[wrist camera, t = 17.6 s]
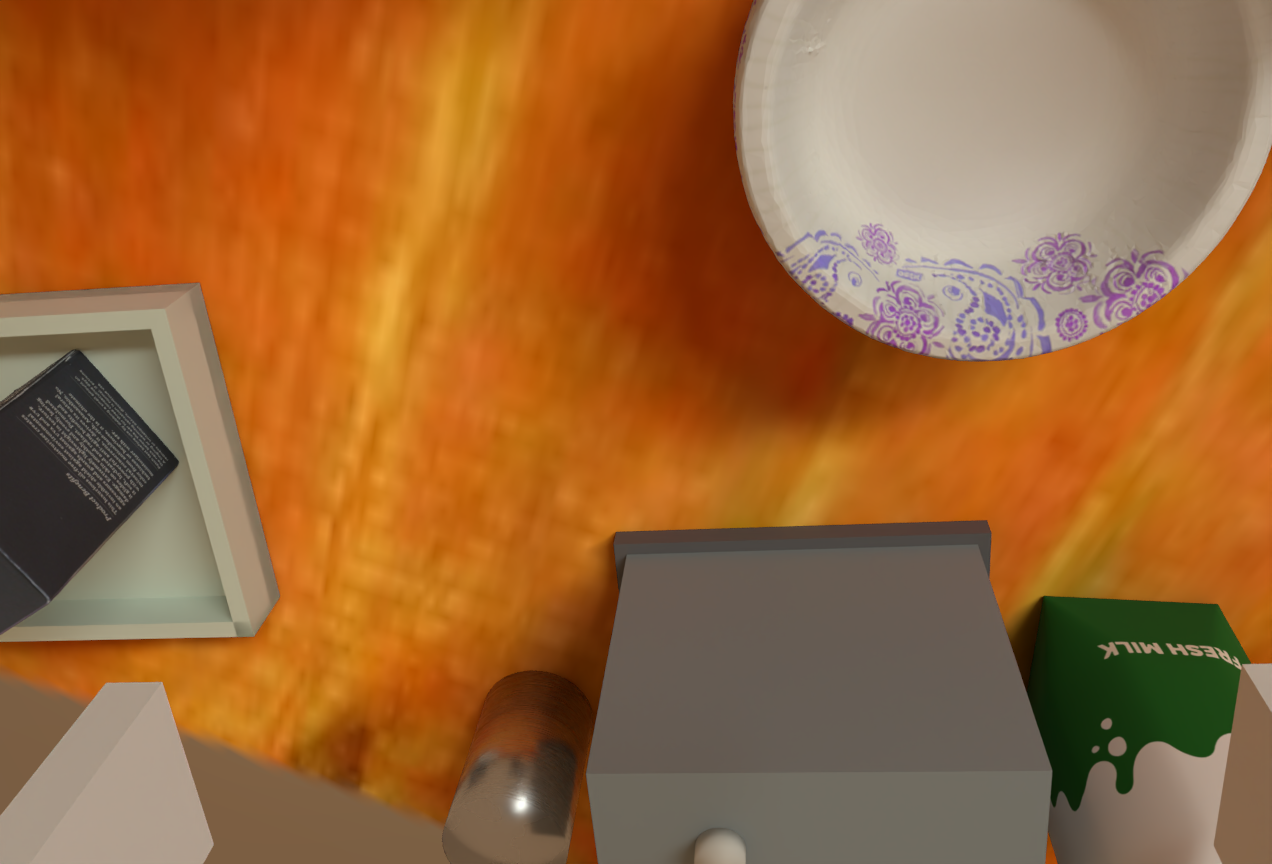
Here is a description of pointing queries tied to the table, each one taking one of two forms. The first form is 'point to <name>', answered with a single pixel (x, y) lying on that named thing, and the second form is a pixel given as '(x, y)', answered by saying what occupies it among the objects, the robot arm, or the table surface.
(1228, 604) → the table surface
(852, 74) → the paper bowls
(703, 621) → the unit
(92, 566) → the tray
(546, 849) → the grey cylinder
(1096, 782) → the milk carton
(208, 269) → the table surface
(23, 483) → the small box
